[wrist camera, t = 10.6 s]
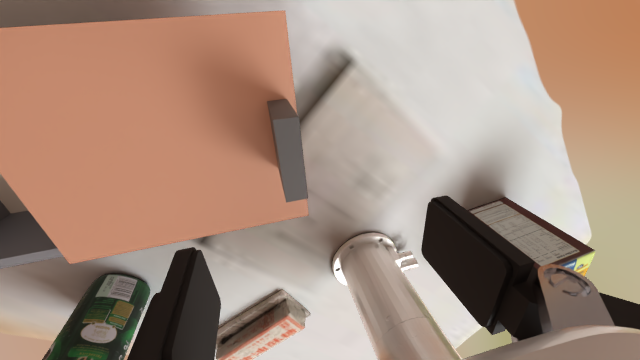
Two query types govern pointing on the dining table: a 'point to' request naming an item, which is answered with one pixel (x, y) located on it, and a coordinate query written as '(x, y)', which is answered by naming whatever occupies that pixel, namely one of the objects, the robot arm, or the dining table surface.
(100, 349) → the coffee jar
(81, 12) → the dining table surface
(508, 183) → the dining table surface
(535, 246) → the protein box
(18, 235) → the carton
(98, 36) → the lid
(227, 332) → the packaged product
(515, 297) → the robot arm
